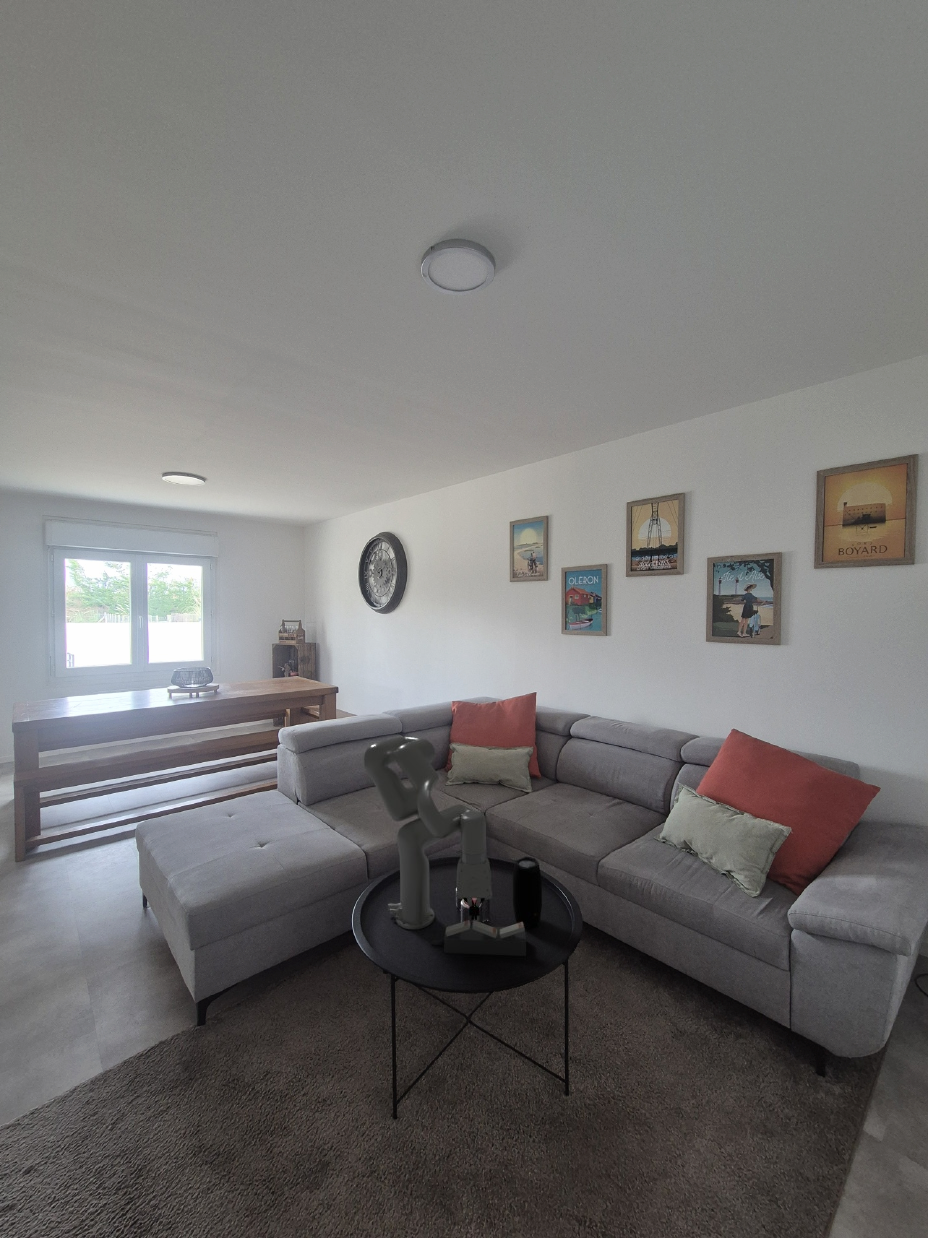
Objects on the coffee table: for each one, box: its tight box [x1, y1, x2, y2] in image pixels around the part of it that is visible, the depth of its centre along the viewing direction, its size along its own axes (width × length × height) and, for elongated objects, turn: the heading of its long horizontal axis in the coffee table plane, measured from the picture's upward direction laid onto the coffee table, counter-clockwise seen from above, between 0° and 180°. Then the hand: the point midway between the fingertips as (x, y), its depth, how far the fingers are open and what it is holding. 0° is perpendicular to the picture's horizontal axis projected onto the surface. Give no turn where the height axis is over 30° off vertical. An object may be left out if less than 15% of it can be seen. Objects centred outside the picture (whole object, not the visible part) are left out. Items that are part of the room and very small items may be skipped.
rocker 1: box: [445, 919, 471, 936], centre depth 149 cm, size 7×3×1 cm, turn 86°
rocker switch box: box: [431, 924, 527, 957], centre depth 150 cm, size 28×7×5 cm, turn 86°
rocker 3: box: [500, 922, 524, 938], centre depth 148 cm, size 7×3×1 cm, turn 86°
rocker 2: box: [472, 920, 497, 938], centre depth 148 cm, size 7×3×1 cm, turn 85°
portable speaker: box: [512, 856, 543, 930], centre depth 162 cm, size 9×9×20 cm
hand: (474, 917), depth 149 cm, fingers closed
